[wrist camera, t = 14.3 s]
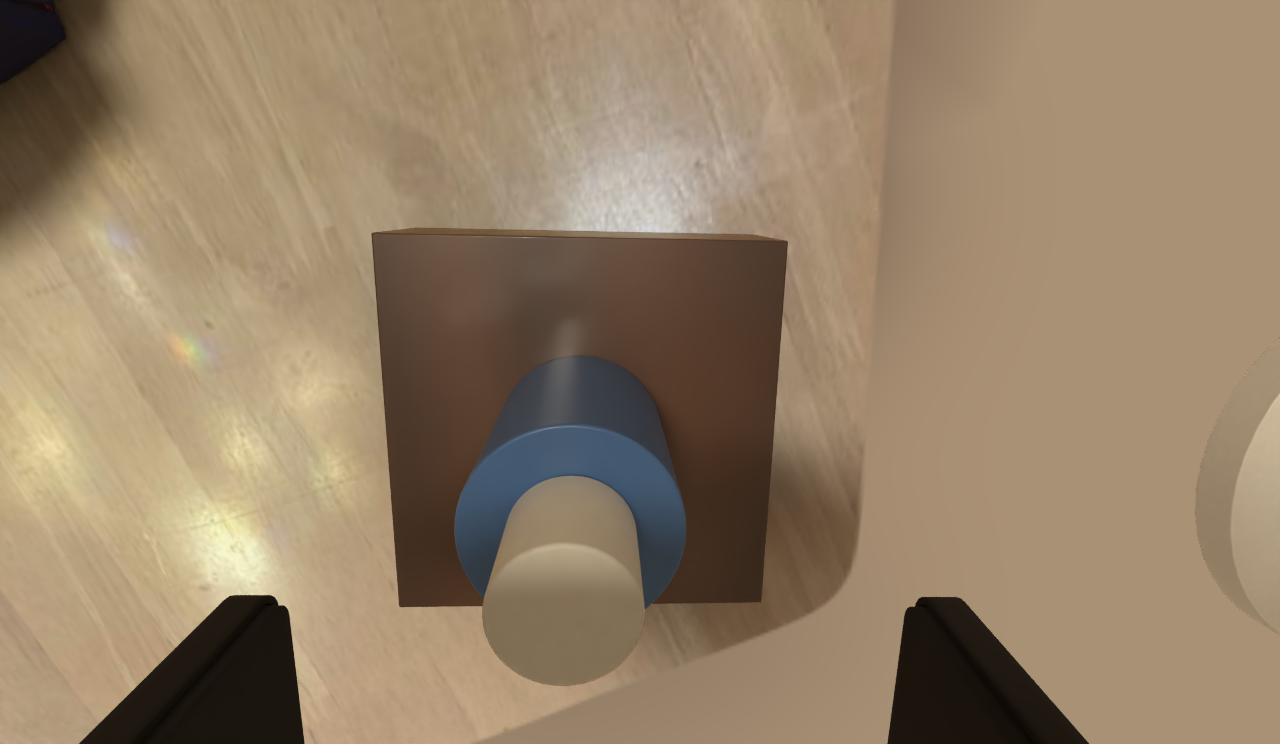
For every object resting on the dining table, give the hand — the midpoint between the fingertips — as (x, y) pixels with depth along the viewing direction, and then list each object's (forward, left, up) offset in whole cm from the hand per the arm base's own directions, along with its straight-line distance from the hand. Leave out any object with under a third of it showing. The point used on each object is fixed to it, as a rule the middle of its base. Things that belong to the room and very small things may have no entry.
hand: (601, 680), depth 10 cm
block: (+1, 0, -16) cm, 16 cm away
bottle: (+1, 0, -11) cm, 11 cm away
